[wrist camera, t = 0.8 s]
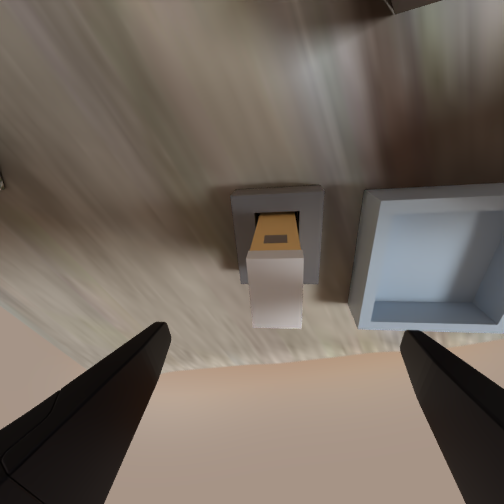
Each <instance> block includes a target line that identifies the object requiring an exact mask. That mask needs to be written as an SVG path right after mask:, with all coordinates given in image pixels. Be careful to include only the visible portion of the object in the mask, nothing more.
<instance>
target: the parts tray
mask: <svg viewBox="0 0 504 504" xmlns="http://www.w3.org/2000/svg"><path fill="white" fill-rule="evenodd" d="M348 306H349V308H350V311H351V313H352V316H353V318H354V321H355V323H356V326H357V328H358V329H368V330H402V331H406V330H420V331H436V332H471V333H504V183H488V184H469V185H449V186H430V187H410V188H391V189H371V190H364V195H363V202H362V209H361V216H360V222H359V229H358V236H357V243H356V250H355V257H354V264H353V271H352V278H351V284H350V291H349V298H348Z"/></svg>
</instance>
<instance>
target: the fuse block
mask: <svg viewBox="0 0 504 504" xmlns="http://www.w3.org/2000/svg"><path fill="white" fill-rule="evenodd" d="M324 194H325V191H324V190H323V188H322V187H321V186H320V185H310V186H292V187H274V188H256V189H239V190H235V191H234V192H233V193H232V195H231V196H230V198H231V206H232V214H233V223H234V231H235V239H236V247H237V256H238V264H239V272H240V281H241V284H249V283H248V273H247V264H246V257H247V254H248V251H250V248H251V244H252V241H253V237H254V233H255V230H256V226H257V222H258V213H262V212H287V211H298V221H297V230H298V235H299V241H300V247H301V250H302V251H303V256H304V270H303V284H319V269H320V254H321V239H322V224H323V209H324Z"/></svg>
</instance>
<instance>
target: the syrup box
mask: <svg viewBox="0 0 504 504" xmlns="http://www.w3.org/2000/svg"><path fill="white" fill-rule="evenodd" d="M0 190H4V185H3V181H2V178H1V174H0Z"/></svg>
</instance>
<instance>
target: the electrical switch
mask: <svg viewBox="0 0 504 504" xmlns="http://www.w3.org/2000/svg"><path fill="white" fill-rule="evenodd" d="M391 1H392V5H393V9H394V13H395V14H398V13H401V12H405V11H408V10H411V9H415V8H418V7H421V6H425V5H428V4H431V3H435V2H438V1H441V0H391Z"/></svg>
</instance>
